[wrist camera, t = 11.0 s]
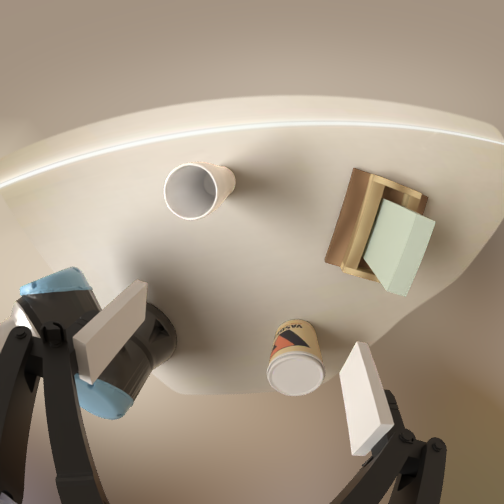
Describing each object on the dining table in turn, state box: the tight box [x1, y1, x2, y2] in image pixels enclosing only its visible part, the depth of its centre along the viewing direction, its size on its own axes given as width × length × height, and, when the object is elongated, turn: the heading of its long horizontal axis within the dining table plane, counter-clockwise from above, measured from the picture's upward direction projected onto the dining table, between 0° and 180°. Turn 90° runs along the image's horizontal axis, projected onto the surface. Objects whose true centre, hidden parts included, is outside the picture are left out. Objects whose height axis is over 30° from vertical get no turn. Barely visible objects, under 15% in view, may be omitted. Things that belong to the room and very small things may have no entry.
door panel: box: [362, 198, 436, 297], centre depth 37 cm, size 3×10×14 cm, turn 166°
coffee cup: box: [267, 319, 325, 396], centre depth 47 cm, size 9×9×12 cm
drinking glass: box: [164, 162, 236, 220], centre depth 38 cm, size 7×7×15 cm
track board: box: [325, 168, 428, 283], centre depth 43 cm, size 14×16×4 cm
